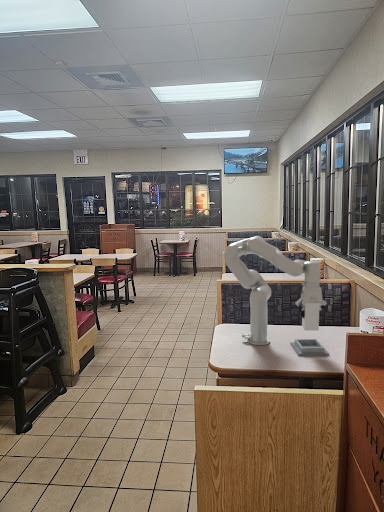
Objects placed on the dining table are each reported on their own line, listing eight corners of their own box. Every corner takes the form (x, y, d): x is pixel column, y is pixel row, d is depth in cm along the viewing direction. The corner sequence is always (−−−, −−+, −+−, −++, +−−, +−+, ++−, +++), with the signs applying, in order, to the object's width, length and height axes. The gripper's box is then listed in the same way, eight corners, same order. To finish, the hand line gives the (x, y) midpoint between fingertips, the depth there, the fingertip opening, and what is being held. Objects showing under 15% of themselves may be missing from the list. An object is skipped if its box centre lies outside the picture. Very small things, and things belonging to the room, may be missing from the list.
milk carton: (315, 326, 193) (316, 292, 190) (318, 330, 186) (320, 295, 183) (301, 325, 194) (303, 292, 191) (304, 330, 187) (305, 295, 184)
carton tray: (298, 355, 185) (298, 349, 184) (290, 344, 200) (290, 338, 199) (329, 355, 185) (329, 349, 184) (318, 343, 200) (318, 337, 199)
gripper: (297, 286, 183) (296, 319, 186) (331, 286, 183) (329, 319, 186) (293, 283, 190) (292, 315, 193) (325, 282, 190) (324, 314, 193)
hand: (310, 316), depth 189 cm, fingers closed on milk carton, 7 cm apart
